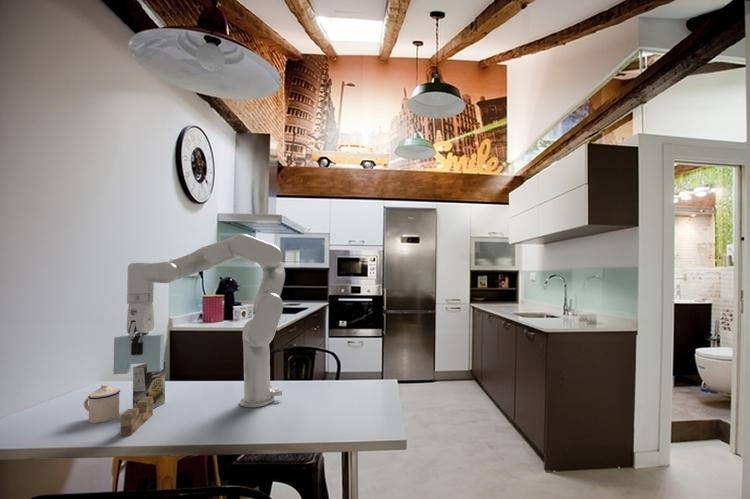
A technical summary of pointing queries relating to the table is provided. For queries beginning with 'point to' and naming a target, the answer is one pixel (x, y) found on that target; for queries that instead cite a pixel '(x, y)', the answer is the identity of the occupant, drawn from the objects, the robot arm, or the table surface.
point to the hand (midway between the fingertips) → (139, 353)
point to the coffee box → (148, 385)
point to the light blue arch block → (150, 355)
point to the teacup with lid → (103, 404)
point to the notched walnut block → (136, 416)
